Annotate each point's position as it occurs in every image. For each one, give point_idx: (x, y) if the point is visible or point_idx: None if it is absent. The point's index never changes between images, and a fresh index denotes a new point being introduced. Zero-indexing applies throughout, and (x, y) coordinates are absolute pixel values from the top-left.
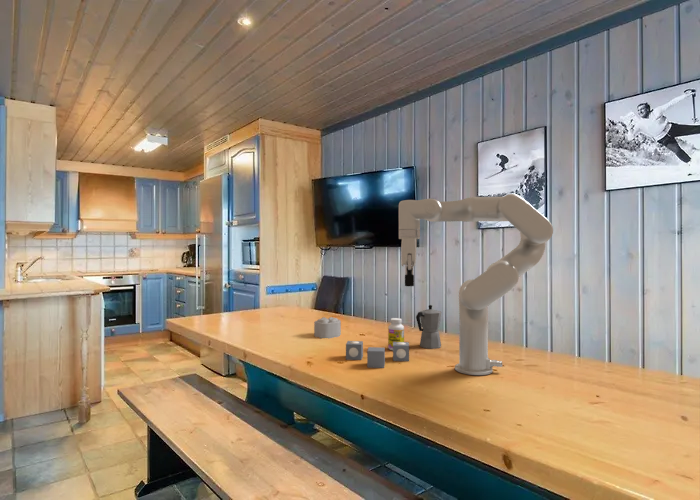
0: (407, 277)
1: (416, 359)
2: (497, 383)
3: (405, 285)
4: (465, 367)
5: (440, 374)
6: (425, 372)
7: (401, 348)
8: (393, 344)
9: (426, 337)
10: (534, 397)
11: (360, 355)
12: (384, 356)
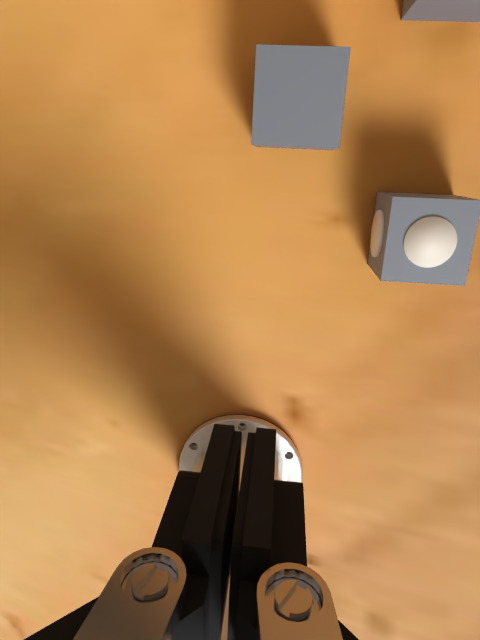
0: (155, 538)
1: (399, 298)
2: (115, 492)
3: (214, 430)
4: (205, 447)
5: (186, 357)
6: (205, 310)
7: (382, 239)
8: (415, 199)
9: None
10: (20, 534)
11: (406, 6)
12: (295, 147)
